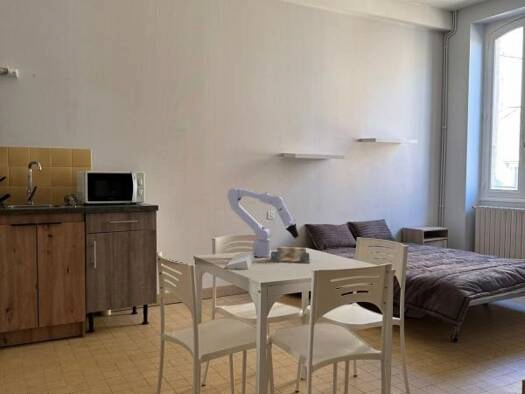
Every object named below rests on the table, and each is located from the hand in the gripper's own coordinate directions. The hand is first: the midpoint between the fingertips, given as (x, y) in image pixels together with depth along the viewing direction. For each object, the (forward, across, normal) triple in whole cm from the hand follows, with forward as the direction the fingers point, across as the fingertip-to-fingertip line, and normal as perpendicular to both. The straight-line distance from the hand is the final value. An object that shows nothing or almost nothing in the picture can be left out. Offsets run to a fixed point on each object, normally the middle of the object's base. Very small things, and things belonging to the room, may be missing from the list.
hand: (296, 237), depth 285 cm
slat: (+9, 0, +8) cm, 12 cm away
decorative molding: (-1, -25, +30) cm, 39 cm away
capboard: (+9, -11, +8) cm, 17 cm away
